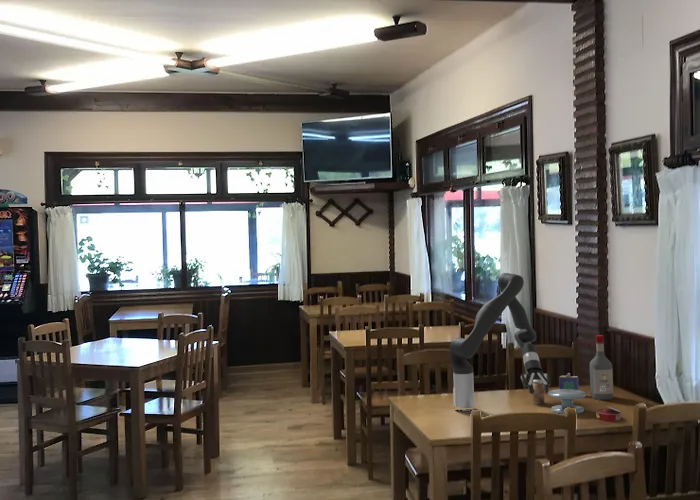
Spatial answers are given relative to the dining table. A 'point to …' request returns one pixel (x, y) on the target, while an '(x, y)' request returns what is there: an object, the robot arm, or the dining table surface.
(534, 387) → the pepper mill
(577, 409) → the cake stand
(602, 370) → the liquor
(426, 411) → the dining table surface
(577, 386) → the flask
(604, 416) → the canned food
